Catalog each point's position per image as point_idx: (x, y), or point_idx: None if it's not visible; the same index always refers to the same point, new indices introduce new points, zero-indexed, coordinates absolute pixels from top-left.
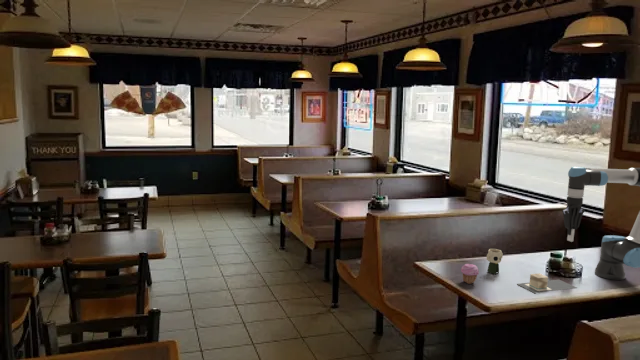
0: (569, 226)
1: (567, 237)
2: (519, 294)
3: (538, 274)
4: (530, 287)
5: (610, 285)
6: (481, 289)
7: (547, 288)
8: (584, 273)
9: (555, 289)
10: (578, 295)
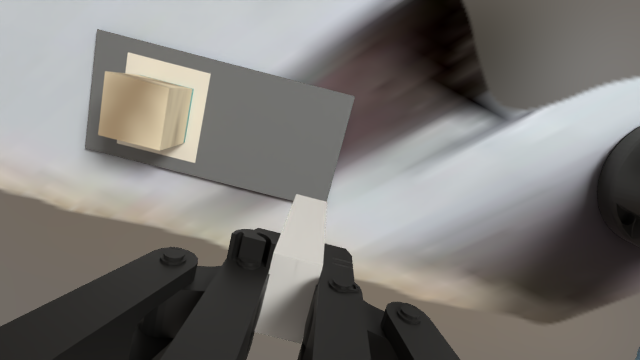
0: (165, 349)
1: (292, 205)
2: (19, 118)
3: (146, 96)
4: None
5: (509, 254)
6: None
7: (185, 145)
8: (593, 97)
9: (210, 170)
10: None
